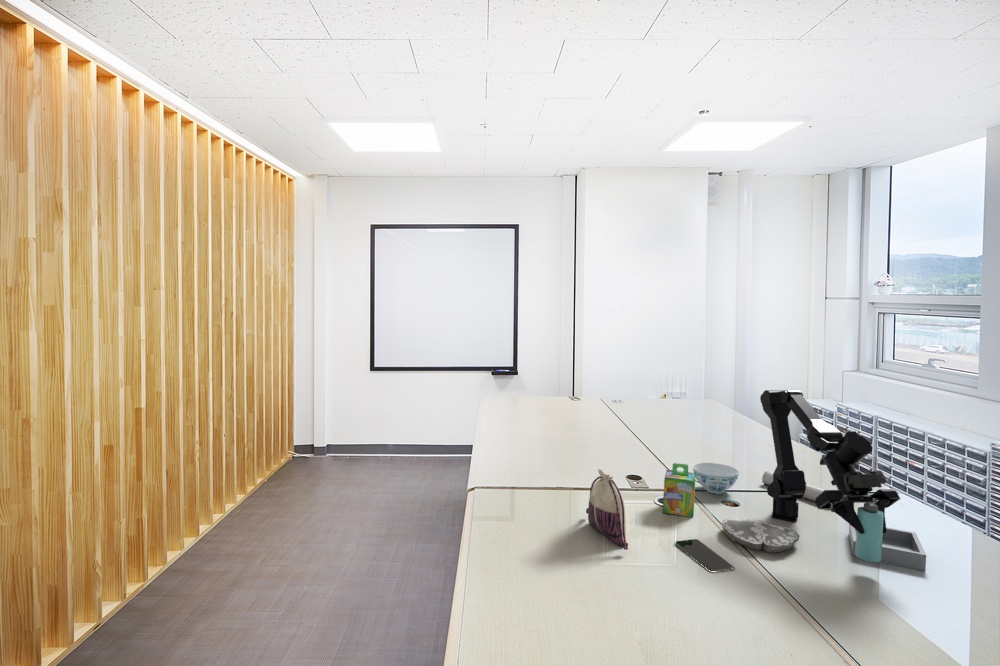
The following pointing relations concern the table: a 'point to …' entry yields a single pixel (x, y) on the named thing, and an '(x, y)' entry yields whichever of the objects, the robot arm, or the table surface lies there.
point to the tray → (897, 548)
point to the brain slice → (760, 535)
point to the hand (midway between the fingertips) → (873, 533)
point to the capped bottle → (870, 533)
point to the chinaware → (715, 476)
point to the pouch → (607, 509)
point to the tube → (810, 490)
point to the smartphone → (704, 555)
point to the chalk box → (679, 491)
